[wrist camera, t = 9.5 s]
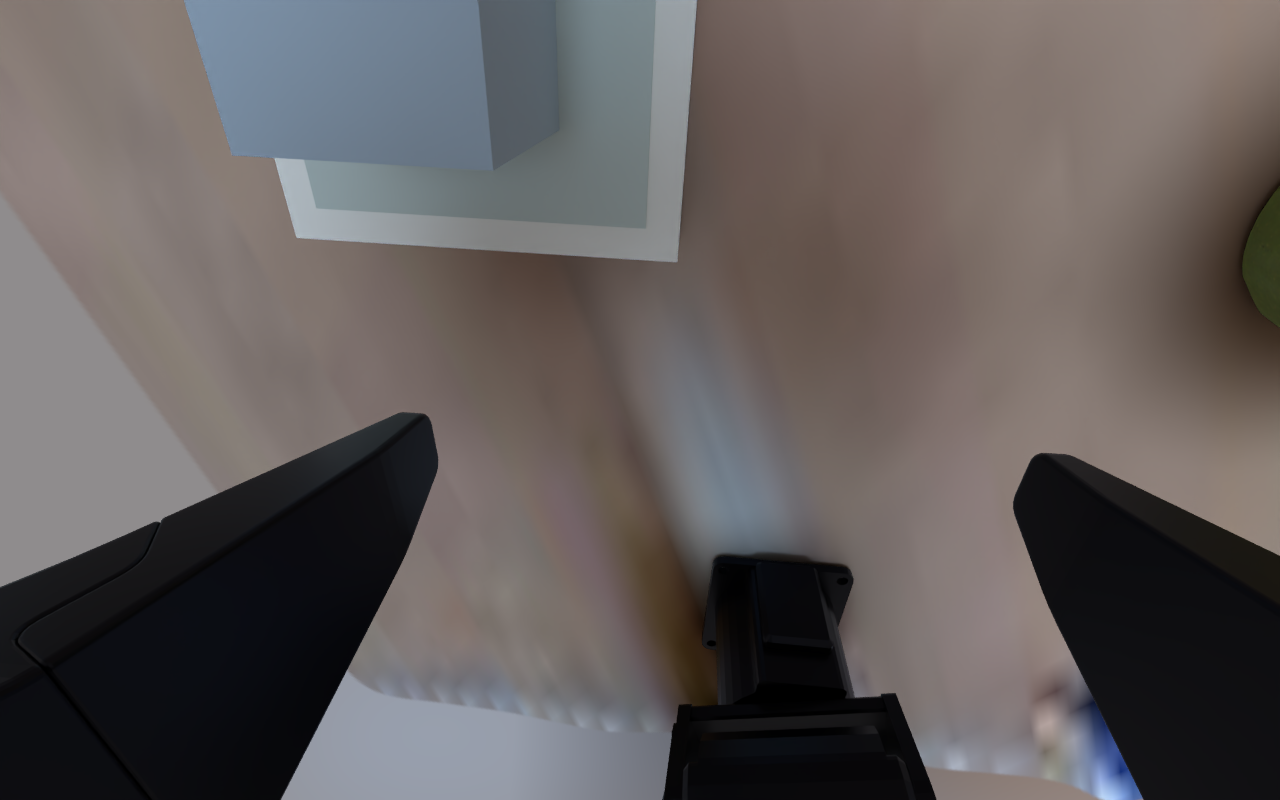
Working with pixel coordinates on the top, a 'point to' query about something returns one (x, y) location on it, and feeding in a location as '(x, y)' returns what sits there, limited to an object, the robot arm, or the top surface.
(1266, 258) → the plant pot
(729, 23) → the top surface
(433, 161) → the block
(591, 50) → the base
